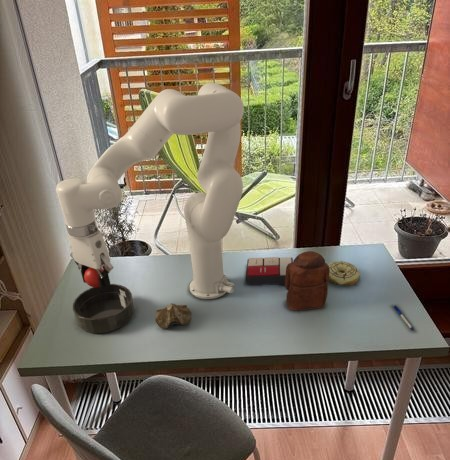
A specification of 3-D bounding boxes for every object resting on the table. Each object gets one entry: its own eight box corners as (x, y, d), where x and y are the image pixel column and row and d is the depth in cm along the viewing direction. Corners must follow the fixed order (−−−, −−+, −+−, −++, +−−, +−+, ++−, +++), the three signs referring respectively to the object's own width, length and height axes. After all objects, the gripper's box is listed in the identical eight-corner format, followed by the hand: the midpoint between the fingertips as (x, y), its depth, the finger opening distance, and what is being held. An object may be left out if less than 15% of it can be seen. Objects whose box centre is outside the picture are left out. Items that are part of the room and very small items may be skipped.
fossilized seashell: (193, 305, 128) (161, 309, 130) (186, 297, 122) (152, 301, 124) (193, 330, 125) (160, 333, 127) (185, 323, 119) (151, 326, 121)
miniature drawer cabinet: (247, 256, 146) (292, 255, 144) (248, 267, 148) (292, 266, 146) (245, 275, 137) (293, 273, 135) (246, 286, 139) (293, 285, 137)
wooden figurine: (320, 295, 132) (325, 245, 122) (327, 308, 127) (333, 257, 117) (282, 300, 131) (284, 249, 121) (287, 313, 126) (290, 261, 116)
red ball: (112, 282, 124) (108, 265, 121) (97, 293, 120) (92, 276, 117) (97, 277, 127) (93, 259, 123) (82, 287, 123) (77, 270, 119)
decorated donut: (342, 292, 133) (343, 282, 131) (317, 276, 141) (318, 266, 138) (365, 279, 138) (367, 269, 136) (340, 265, 145) (341, 255, 143)
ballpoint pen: (392, 307, 126) (393, 304, 126) (395, 307, 127) (396, 304, 126) (411, 331, 118) (412, 328, 117) (414, 330, 118) (415, 327, 118)
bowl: (146, 307, 132) (143, 293, 129) (107, 341, 120) (103, 327, 117) (105, 292, 140) (102, 278, 136) (65, 323, 128) (60, 308, 125)
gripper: (116, 228, 111) (129, 284, 122) (70, 214, 119) (85, 269, 129) (95, 241, 106) (110, 299, 117) (48, 226, 114) (66, 282, 124)
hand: (97, 283), depth 123 cm, fingers closed on red ball, 6 cm apart
